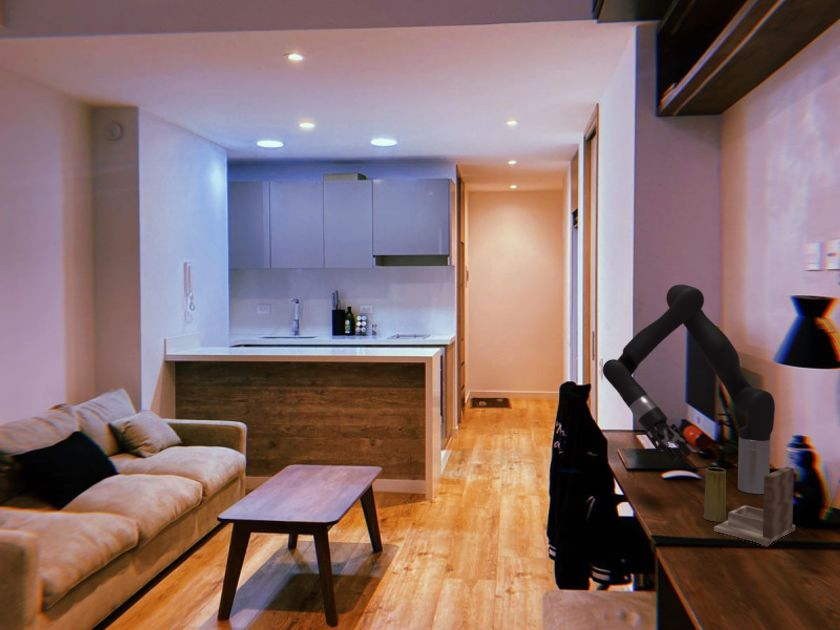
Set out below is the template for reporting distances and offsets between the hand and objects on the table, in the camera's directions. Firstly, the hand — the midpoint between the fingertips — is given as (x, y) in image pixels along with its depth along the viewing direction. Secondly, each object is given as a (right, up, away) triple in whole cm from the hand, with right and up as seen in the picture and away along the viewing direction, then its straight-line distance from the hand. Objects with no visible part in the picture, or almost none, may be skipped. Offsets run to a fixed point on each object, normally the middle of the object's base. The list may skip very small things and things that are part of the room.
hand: (682, 457), depth 208 cm
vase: (+7, -16, -7) cm, 19 cm away
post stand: (+13, -17, -17) cm, 27 cm away
